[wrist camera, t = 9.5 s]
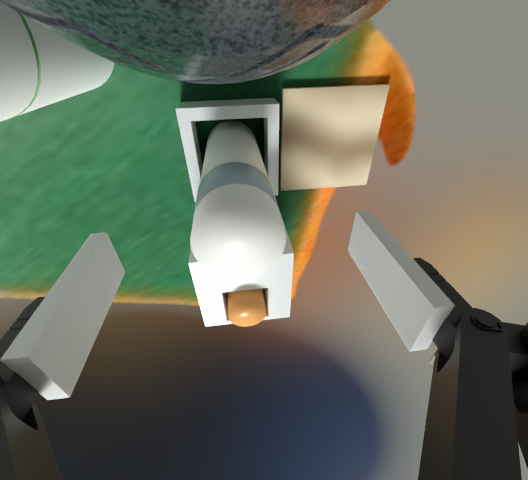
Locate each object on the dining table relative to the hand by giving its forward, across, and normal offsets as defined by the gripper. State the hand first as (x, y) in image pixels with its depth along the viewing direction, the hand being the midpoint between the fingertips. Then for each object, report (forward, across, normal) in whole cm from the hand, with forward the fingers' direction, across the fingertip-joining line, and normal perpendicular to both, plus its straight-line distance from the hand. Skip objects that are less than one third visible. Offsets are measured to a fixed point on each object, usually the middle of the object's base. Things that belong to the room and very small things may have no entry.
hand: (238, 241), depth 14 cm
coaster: (+15, +10, 0) cm, 18 cm away
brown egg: (+10, 0, -12) cm, 16 cm away
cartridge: (+16, 0, 0) cm, 16 cm away
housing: (+15, 0, -5) cm, 16 cm away
